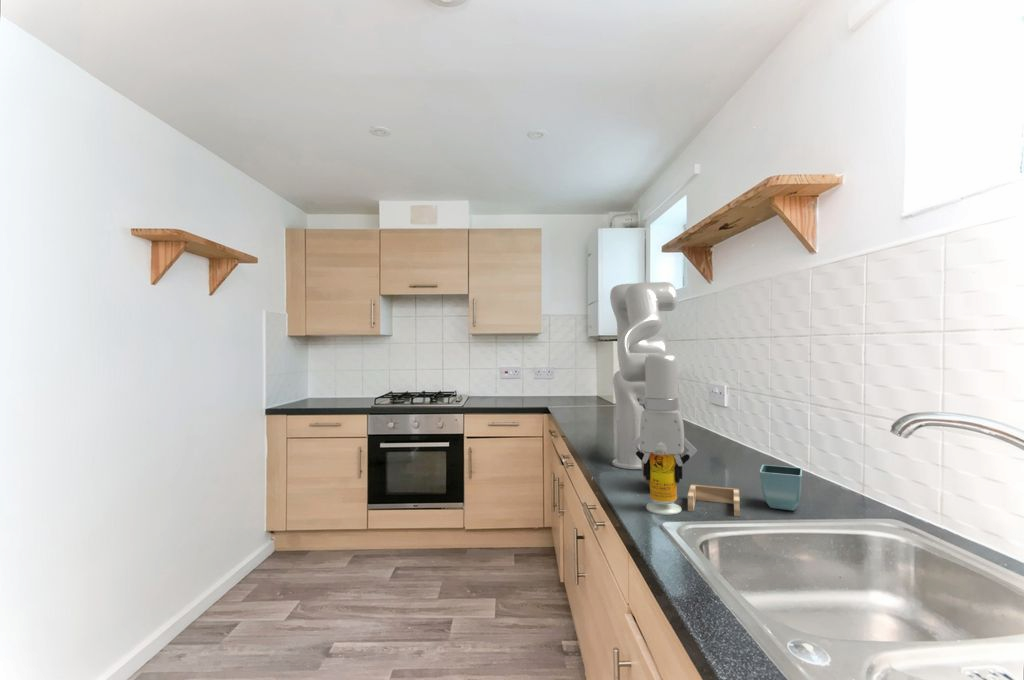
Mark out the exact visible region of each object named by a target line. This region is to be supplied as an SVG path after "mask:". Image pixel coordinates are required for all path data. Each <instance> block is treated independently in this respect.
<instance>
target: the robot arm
mask: <svg viewBox="0 0 1024 680" xmlns="http://www.w3.org/2000/svg"><path fill="white" fill-rule="evenodd" d="M609 297H610V298H609V299H610V305H611V308H612V311H613V314H614V317H615V321H616V326H617V328H616V331H617V333H616V334H617V339H616V340H617V344H616V346H617V350H616V351H617V358H618V359H617V360H618V367H619V370H617V371H616V372H615V373H614V374H613V377H612V384H613V385H612V386H613V392H614V398H615V412H616V415H615V416H616V457H617V458H615V459H613V460H612V465H613V466H614V467H617V468H619V469H620V468H621V469H625V470H627V469H628V470H642V467H641V462H643V463H644V476H646V480H650V459H649V457H650V453H655V445H656V444H657V443H659V442H663V444H664V443H665V445H666V449H667V454H669V455H674V457H675V460H676V466H675V482H676V483H677V484H680V482H681V481H680V480H683V465H684V464H685V463H686V462H688V461H689V459H690V458H691V459H692V457H693V456H694V455H695V454H696V453H697V452H698V449H697V448H696V447H695V446H694V445H693V444H692V443H691V442H690V441H689V440H688V439H687V438H686V437H685V428H684V427H685V426H684V420H683V415H682V414H683V413H682V411H681V410H679V398H678V397H679V395H678V394H679V389H678V388H679V387H678V386H679V383H678V360H677V357H676V356H675V354H671V353H670V352H669V349H668V344H667V341H666V340H665V338H664V337H662V336H660V335H657V334H658V333H659V332H660V330H661V328H662V322H663V321H662V319H661V313H660V312H672V311H674V310H675V309H676V307H677V306H678V297H679V296H678V292H677V289H676V287H675V286H674V285H673V283H671V282H667V281H663V282H662V281H657V282H656V281H655V282H650V281H649V282H636V283H622V284H618V285H615V286H613V287H612V288H611V290H610V294H609ZM638 399H639V401H638ZM685 448H686V449H687V450H688V451H687V452H686V453H684V452H685ZM644 452H645V454H644ZM683 453H684V455H682V454H683Z"/></svg>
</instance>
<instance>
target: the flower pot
mask: <svg viewBox="0 0 1024 680" xmlns="http://www.w3.org/2000/svg"><path fill="white" fill-rule="evenodd" d="M759 477H760V478H759V479H760V485H761V491H762V495H763V498H764V500H765V502H766V504H767V505H768V507H769V508H771V509H776V510H777V509H778V510H787V511H795V510H796V508H797V506H798V504H799V502H800V498H801V493H802V479H803V468H801V467H796V466H795V467H793V466H782V465H773V464H771V465H770V464H761V467H760V469H759Z"/></svg>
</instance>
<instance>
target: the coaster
mask: <svg viewBox="0 0 1024 680" xmlns="http://www.w3.org/2000/svg"><path fill="white" fill-rule="evenodd" d="M646 510H647V511H648V512H650V513H652V514H655V515H661V516H673V515H674V516H675V515H679V514H681V513H682V507H681V505H679V504H677V503H675V502H674V503H673V504H659V503H655V502H649V503H647V504H646Z"/></svg>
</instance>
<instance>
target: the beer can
mask: <svg viewBox="0 0 1024 680" xmlns="http://www.w3.org/2000/svg"><path fill="white" fill-rule="evenodd" d="M676 463H677V462H676V460H675V457H674V455H669V454H667V449H666V445H665V443H664V444H663V442H659V443H657V444H656V445H655V453H650V487H649V493H650V495H649V496H650V499H651V500H652V501H653V502H655V503H659V504H673V503H674V504H675V502H676V501H677V499H678V494H677V492H678V491H677V489H678V488H677V487H678V486H677V484H678V483H676V482H675V466H676Z"/></svg>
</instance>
